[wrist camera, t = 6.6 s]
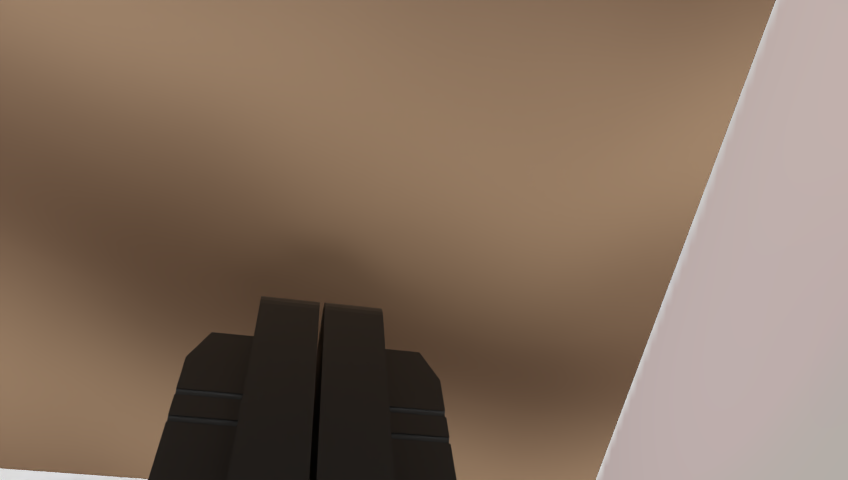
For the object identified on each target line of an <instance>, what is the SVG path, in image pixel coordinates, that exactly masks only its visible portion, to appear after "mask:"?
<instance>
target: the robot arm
mask: <svg viewBox="0 0 848 480" xmlns="http://www.w3.org/2000/svg"><path fill="white" fill-rule="evenodd" d="M319 309H320V302H313V301H304V300H295V299H285V298H276V297H267V296H261V300H260V305H259V310H258V316H257V321H256V327H255V332H254V336H247V335H237V334H227V333H216V332H211V333H210V334H209V335H208V336H207V337H206V338H205V339H204V340H203V341H202V342H201V343H200V344H199V345H198V346H197V347H195V348H194V349H193V350H192V351H191V352H190V353H189V354H188V355H187V356H186V358H185V361H184V364H183V367H182V371H181V374H180V377H179V380H178V384H177V387H176V393H175V394H174V397H173V400H172V403H171V406H170V410H169V413H168V419H167V421H166V423H165V426H164V429H163V432H162V436H161V439H160V442H159V446H158V449H157V452H156V455H155V459H154V462H153V465H152V468H151V472H150V475H149V478H148V480H457V479H456V473H455V467H454V461H453V455H452V449H451V444H449V431H448V424H447V418H446V417H445V406H444V400H443V394H442V388H441V382H440V379H439V378H438V376H437V375H436V374H435V372H434V371H433V370H432V368H431V367H430V366H429V364H428V363H427V362H426V360H425V359H424V358H423V356H422V355H421V354H420V352H412V351H402V350H392V349H385V337H384V322H383V311H382V309H381V308H372V307H362V306H353V305H344V304H334V303H324V307H323V312H322V319H321V325H320V332H319V339H318V326H319ZM317 343H318V346H317Z"/></svg>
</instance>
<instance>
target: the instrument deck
mask: <svg viewBox="0 0 848 480" xmlns="http://www.w3.org/2000/svg"><path fill="white" fill-rule="evenodd" d="M775 1H776V0H0V468H4V469H18V470H32V471H46V472H60V473H74V474H88V475H102V476H115V477H129V478H143V479H148V478H149V475H150V472H151V468H152V465H153V462H154V459H155V455H156V452H157V449H158V446H159V442H160V439H161V436H162V432H163V429H164V426H165V423H166V421H167V419H168V413H169V410H170V406H171V403H172V400H173V397H174V394H175V393H176V387H177V384H178V380H179V377H180V374H181V371H182V367H183V364H184V361H185V358H186V356H187V355H188V354H189V353H190V352H191V351H192V350H193V349H194V348H195V347H197V346H198V345H199V344H200V343H201V342H202V341H203V340H204V339H205V338H206V337H207V336H208V335H209V334H210V333H211V332H216V333H227V334H237V335H247V336H254V332H255V327H256V321H257V316H258V310H259V305H260V300H261V296H267V297H276V298H285V299H295V300H304V301H313V302H320V309H319V326H318V339H319V332H320V325H321V319H322V312H323V307H324V303H334V304H344V305H353V306H362V307H372V308H381V309H382V311H383V322H384V337H385V349H392V350H402V351H412V352H420V354H421V355H422V356H423V358H424V359H425V360H426V362H427V363H428V364H429V366H430V367H431V368H432V370H433V371H434V372H435V374H436V375H437V376H438V378H439V379H440V382H441V388H442V394H443V400H444V406H445V417H446V418H447V424H448V431H449V444H451V449H452V455H453V461H454V467H455V473H456V479H457V480H596V477H597V474H598V472H599V469H600V466H601V464H602V461H603V458H604V456H605V453H606V450H607V448H608V445H609V442H610V440H611V437H612V434H613V432H614V429H615V426H616V424H617V421H618V418H619V416H620V413H621V410H622V408H623V405H624V402H625V400H626V397H627V394H628V392H629V389H630V386H631V384H632V381H633V378H634V376H635V373H636V370H637V368H638V365H639V362H640V360H641V357H642V355H643V352H644V349H645V347H646V344H647V341H648V339H649V336H650V333H651V331H652V328H653V325H654V323H655V320H656V317H657V315H658V312H659V309H660V307H661V304H662V301H663V299H664V296H665V293H666V291H667V288H668V285H669V283H670V280H671V277H672V275H673V272H674V269H675V267H676V264H677V261H678V259H679V256H680V253H681V251H682V248H683V245H684V243H685V240H686V237H687V235H688V232H689V229H690V227H691V224H692V221H693V219H694V216H695V213H696V211H697V208H698V205H699V203H700V200H701V197H702V195H703V192H704V189H705V187H706V184H707V182H708V179H709V176H710V174H711V171H712V168H713V166H714V163H715V160H716V158H717V155H718V152H719V150H720V147H721V144H722V142H723V139H724V136H725V134H726V131H727V128H728V126H729V123H730V120H731V118H732V115H733V112H734V110H735V107H736V104H737V102H738V99H739V96H740V94H741V91H742V88H743V86H744V83H745V80H746V78H747V75H748V72H749V70H750V67H751V64H752V62H753V59H754V56H755V54H756V51H757V48H758V46H759V43H760V40H761V38H762V35H763V32H764V30H765V27H766V24H767V22H768V19H769V16H770V14H771V11H772V9H773V6H774V3H775ZM317 346H318V343H317Z"/></svg>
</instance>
